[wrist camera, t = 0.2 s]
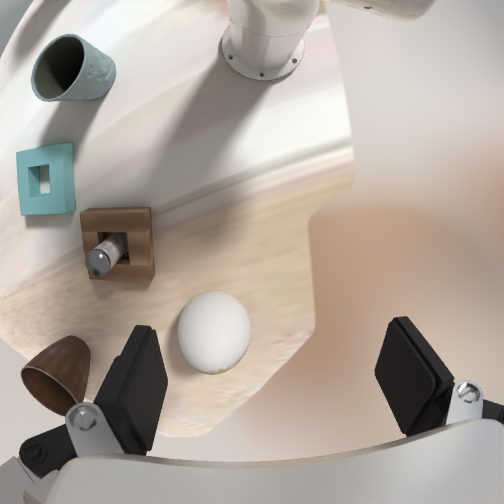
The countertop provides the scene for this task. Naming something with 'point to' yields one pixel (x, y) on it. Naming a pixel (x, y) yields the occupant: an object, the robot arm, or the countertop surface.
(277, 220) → the countertop surface
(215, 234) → the countertop surface
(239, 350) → the decorative egg
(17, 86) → the countertop surface
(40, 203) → the socket block
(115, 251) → the pin
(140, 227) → the mount block
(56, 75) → the grey-blue cup
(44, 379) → the plant pot
